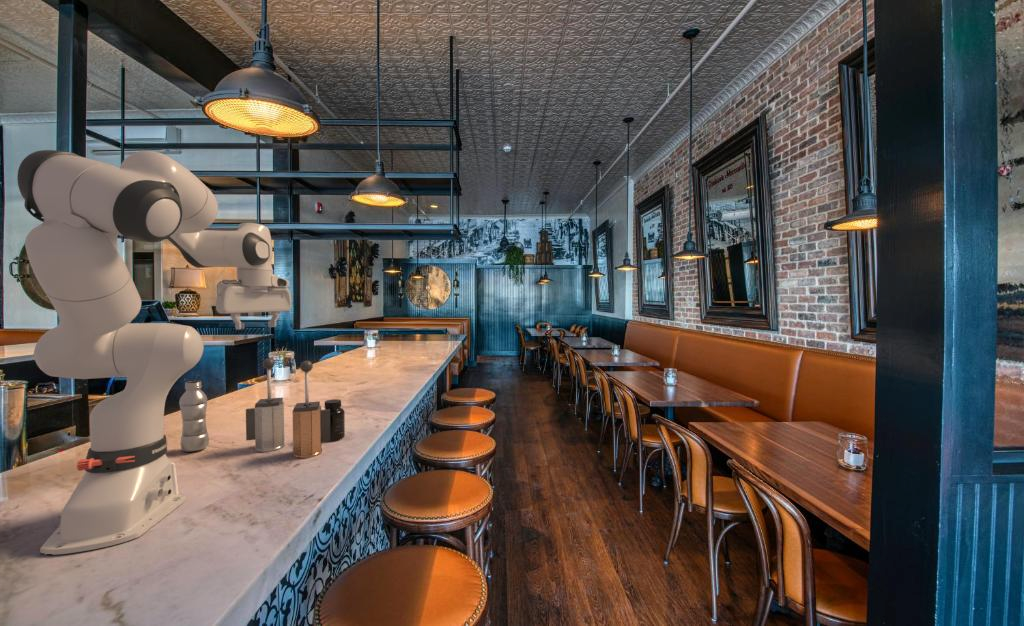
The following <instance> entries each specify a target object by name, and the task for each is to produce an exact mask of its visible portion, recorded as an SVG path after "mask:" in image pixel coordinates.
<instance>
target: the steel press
mask: <svg viewBox="0 0 1024 626" xmlns="http://www.w3.org/2000/svg"><path fill="white" fill-rule="evenodd" d="M254 404H255V405H254V407H252V408H246V409H245V435H246V437H245V439H246V441H253V440H254V443H255V444H254V446H255V452H258V453H268V452H269V453H270V452H275V451H278V450H280V449H282V448H284V447H285V443H286V442H285V408H284V407H285V405H284V404H285V403H284V397H273V398H272V397H271V401H268V398H260V399H258V401H257V402H255V403H254Z"/></svg>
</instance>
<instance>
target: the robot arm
mask: <svg viewBox="0 0 1024 626" xmlns="http://www.w3.org/2000/svg"><path fill="white" fill-rule="evenodd" d="M16 176H17V186H18V190H19V192H20V195H21V197H22V198H23V200H24V204H23V205H24V208H25V210H26V211H27V212H28V213H29V214H30V215H31V216H32V217H34V218H35V219H36V220H38V221H40V222H42V223H41V224H38V225H37V226H35V227H33V228H32V229H31V230H30V231H29V232H28V234H27V235H26V237H25V241H24V247H25V252H26V255H27V258H28V262H29V265H30V267H31V270H32V272H33V274H34V276H35V278H36V280H37V282H38V284H39V285H40V287H41V288H42V290H43V292H44V294H45V295H46V297H47V298H48V299H49V301H50V303H51V305H52V307H53V308H54V311H55V313H56V314H57V316H58V318H59V323H58V324H57V325H56V327H53V328H51V329H49V330H48V331H46V332H45V333H44V334H42V335H41V336H40V337H39V339H38V341H37V342H36V343H35V347H34V350H33V351H34V352H33V357H34V361H35V363H36V366H37V367H38V368H39V369H40V371H42V372H43V373H44V374H46V375H47V376H50V377H54V378H55V377H56V378H65V379H77V380H86V379H87V380H89V379H91V380H92V379H106V378H121V377H122V378H123V377H124V378H126V383H125V384H126V385H125V387H124V389H123V390H121V391H120V392H117V393H114V394H112V395H111V396H108V397H106V398H104V399H102V400H100V401H99V402H98V403H97V404H96V405H95V406H94V407H93V408H92V410H91V411H90V414H89V438H90V448H88V449H87V454H86V457H85V458H82V459H79V460H78V461H77V463H76V470H77V471H85V472H84V474H83V476H82V478H81V479H80V480H79V482H78V484H77V485H76V487H75V488H74V490H73V491H72V494H71V495H70V497H69V498H68V500H67V502H66V503H65V505H64V507H63V508H62V510H61V515H60V523H59V526H58V527H57V528H56V529H55V531H53V533H52V534H51V535H50V536H49V537H48V538H47V539H46V541H45V542H44V543H43V544H42V545H41V547H40V548H39V550H40V551H39V553H40V552H41V553H45V554H44V555H47V554H52V555H54V556H57V555H65V554H74V553H80V552H86V551H92V550H98V549H102V548H107V547H111V546H115V545H119V544H122V543H125V542H129V541H132V540H134V539H137V538H139V537H141V536H142V535H144V534H145V533H146V532H147V531H149V530H150V529H151V528H153V527H154V526H155V525H157V524H158V523H159V522H160V521H161V520H163V519H164V518H165V517H167V516H168V515H169V514H170V513H172V512H173V511H174V510H176V509H177V508H178V507H180V505H182V504H183V503H185V502H186V501H187V495H186V494H184V493H179V487H178V479H177V478H178V476H177V469H176V464H175V462H173V461H172V460H171V459H170V458H169V457H168V456H167V454H166V453H167V452H168V441H167V435H165V433H164V428H165V427H164V425H165V424H164V422H165V421H164V417H165V406H166V400H167V396H168V395H169V393H170V390H171V389H172V387H173V386H174V384H175V383H176V382H177V381H178V379H180V377H182V376H183V375H184V374H185V373H187V372H188V371H190V370H191V369H193V368H194V367H195V366H197V364H198V363H199V362H200V360H201V358H202V357H203V354H204V350H205V349H204V348H205V347H204V341H203V338H202V335H201V334H200V333H199V331H197V329H195V328H194V327H193V326H190V325H184V324H177V323H169V322H139V323H137V322H135V323H133V322H132V321H133V320H134V319H135V318H136V317H137V316H138V315H139V313H140V311H141V308H142V299H141V295H140V294H139V291H138V289H137V287H136V285H135V282H134V279H133V278H132V275H131V273H130V271H129V269H128V267H127V265H126V263H125V261H124V259H123V258H122V256H121V254H120V253H119V250H118V236H121V237H124V238H125V239H129V240H131V241H136V242H142V243H159V242H162V241H164V240H166V239H167V240H168V241H169V242H170V243H171V244H173V246H175V247H176V249H178V251H180V254H181V256H182V257H183V259H185V261H186V262H187V263H189V264H190V266H193V267H195V268H198V269H200V268H201V269H202V268H203V269H204V268H236V279H222V280H221V281H219V282H218V283H217V284H216V294H217V295H216V300H215V311H217V313H218V314H221V315H222V314H226V315H227V314H230V318H231V320H232V321H233V323H234V324H235V326H234V327H235V330H245V328H246V327H245V324H246V323H245V322H242V321H241V320H240V318H241V314H247V313H248V314H249V313H252V314H253V313H270V316H271V318H270V320H268V321H267V327H268V328H276V327H277V321H278V320H279V317H280V316H281V314H280V313H281V312H290V310H291V309H292V295H291V291H290V289H289V288H288V287H290V281H289V280H288V279H286V278H283V277H280V276H278V275H275V274H274V270H273V269H274V268H273V267H272V259H273V243H272V236H271V231H270V229H269V228H268V227H267V226H266V225H264V224H262V223H257V222H250V221H247V222H242V223H239V224H238V228H237V229H235V230H218V229H217V230H216V229H212V230H209V229H208V228H209V227H210V226H211V225H212V224H213V223H214V222H215V220H216V218H217V216H218V213H219V203H218V201H217V198H216V196H215V194H214V193H213V192H212V190H211V189H210V188H209V187H208V186H206V184H205V183H203V181H201V180H200V179H199V178H198V177H197V176H196V175H195V174H194V173H193V172H191V171H190V170H189V169H188V168H186V167H185V166H184V165H182V164H181V163H180V162H178V161H176V160H175V159H173V158H171V157H170V156H168V155H166V154H164V153H162V152H160V151H159V152H158V151H154V150H139V151H137V152H133V153H130V154H129V155H128V156H127V157H126V158H124V159H123V161H122V162H121V164H120V166H119V167H118V166H115V165H113V164H109V163H105V162H102V161H99V160H95V159H92V158H88V157H84V156H81V155H79V154H76V153H75V152H68V151H63V150H57V149H56V150H55V149H44V150H43V149H42V150H36V151H34V152H31V153H30V154H28V155H27V156H26V157H25V158H23V160H22V161H21V163H20V164H19V168H18V170H17V175H16ZM32 210H33V211H32ZM130 322H132V323H130ZM41 553H40V554H41ZM52 555H51V556H52Z"/></svg>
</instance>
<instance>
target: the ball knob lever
mask: <svg viewBox="0 0 1024 626" xmlns="http://www.w3.org/2000/svg"><path fill="white" fill-rule="evenodd" d="M313 367H314V365H313V363H312V362H311V361H310V360H304V361H302V362H300V365H299V369H300V370H301V371H302V372H303V373H304V397H305V398H304V400H305V401H304V403H305V406H308V405H309V402H310V394H309V393H310V391H309V390H310V389H309V387H310V386H309V372H311V371H312V369H313Z"/></svg>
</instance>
